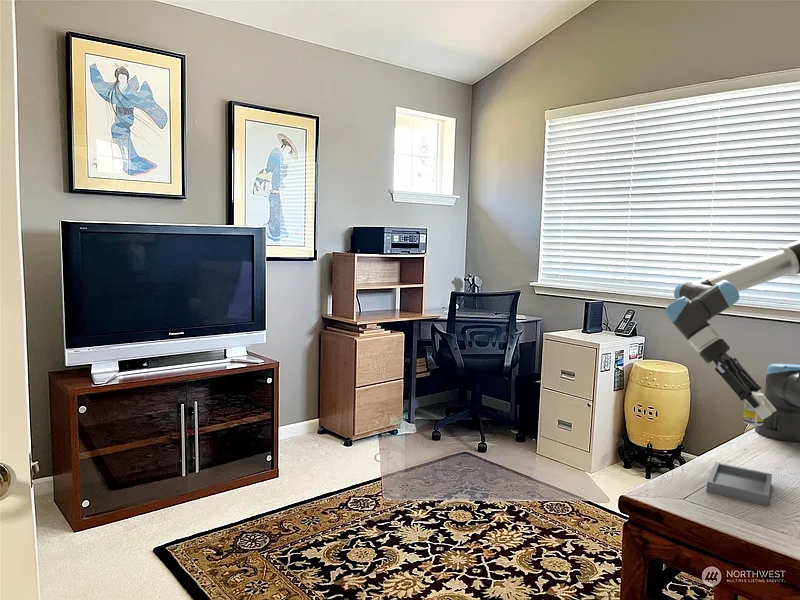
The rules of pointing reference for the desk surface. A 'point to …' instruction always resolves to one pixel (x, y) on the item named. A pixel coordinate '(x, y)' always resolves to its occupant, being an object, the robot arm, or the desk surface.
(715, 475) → the tray
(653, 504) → the desk surface
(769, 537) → the desk surface
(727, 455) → the desk surface
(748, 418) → the supplement bottle
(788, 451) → the desk surface
